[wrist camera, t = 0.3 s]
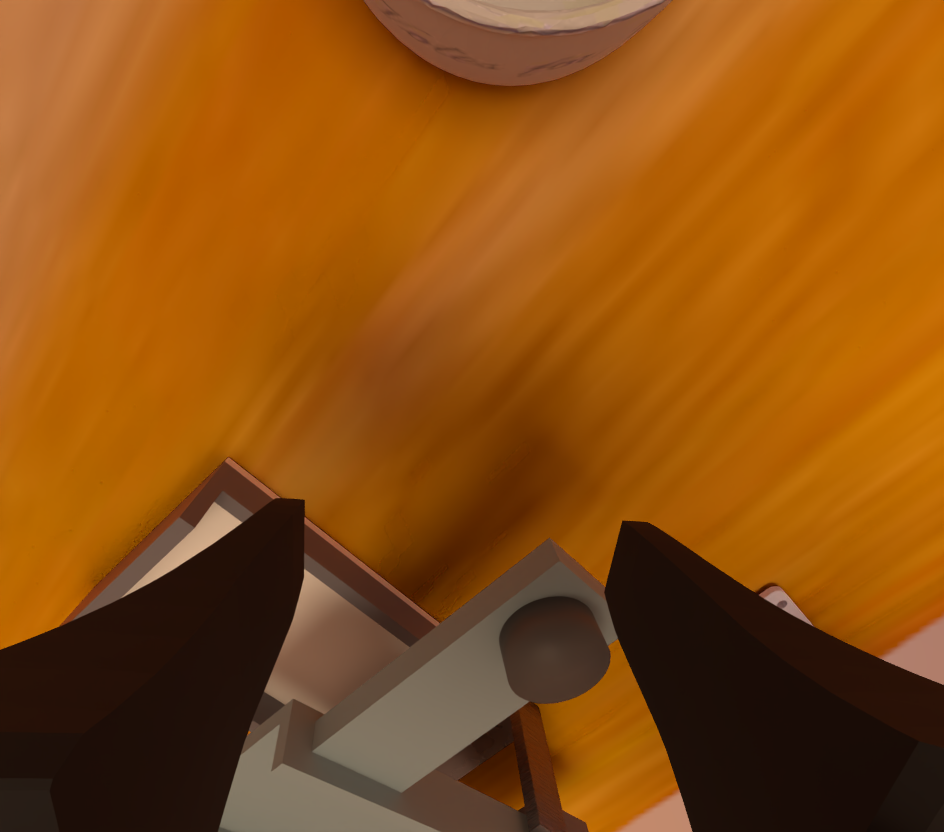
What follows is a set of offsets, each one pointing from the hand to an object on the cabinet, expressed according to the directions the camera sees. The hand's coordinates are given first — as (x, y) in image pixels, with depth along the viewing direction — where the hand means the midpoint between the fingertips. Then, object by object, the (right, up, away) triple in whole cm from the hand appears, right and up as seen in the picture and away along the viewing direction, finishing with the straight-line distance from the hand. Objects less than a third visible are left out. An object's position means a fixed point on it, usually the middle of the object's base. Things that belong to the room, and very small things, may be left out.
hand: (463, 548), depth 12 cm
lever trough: (+1, -10, +10) cm, 15 cm away
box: (-9, -6, +12) cm, 16 cm away
